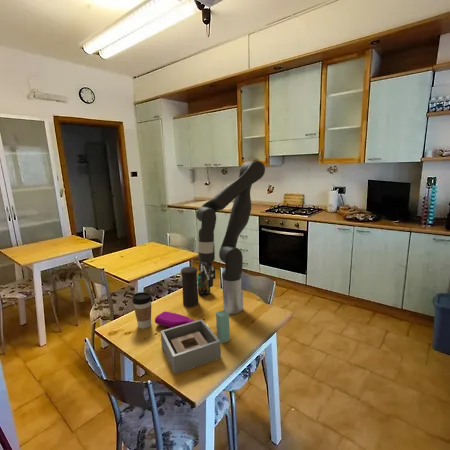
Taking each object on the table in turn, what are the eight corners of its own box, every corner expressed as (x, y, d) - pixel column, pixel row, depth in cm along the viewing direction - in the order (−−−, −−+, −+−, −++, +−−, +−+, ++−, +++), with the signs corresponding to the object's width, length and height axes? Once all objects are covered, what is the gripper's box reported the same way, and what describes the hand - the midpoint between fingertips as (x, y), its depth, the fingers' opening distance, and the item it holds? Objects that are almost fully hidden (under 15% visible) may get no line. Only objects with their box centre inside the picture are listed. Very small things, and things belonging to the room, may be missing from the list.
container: (201, 300, 152) (199, 265, 148) (195, 308, 144) (193, 271, 140) (186, 299, 154) (184, 264, 150) (180, 307, 146) (177, 270, 142)
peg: (225, 335, 120) (224, 309, 117) (229, 340, 116) (229, 314, 114) (217, 338, 118) (215, 312, 116) (221, 343, 114) (220, 316, 112)
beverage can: (203, 297, 156) (202, 277, 154) (195, 293, 161) (194, 273, 159) (212, 293, 161) (212, 273, 158) (205, 289, 166) (204, 270, 163)
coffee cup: (137, 320, 134) (134, 291, 131) (155, 319, 134) (152, 290, 131) (133, 330, 126) (129, 299, 123) (152, 329, 126) (149, 298, 123)
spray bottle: (164, 316, 137) (211, 327, 130) (152, 324, 126) (202, 337, 119) (165, 310, 137) (212, 321, 129) (152, 317, 126) (203, 330, 119)
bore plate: (198, 337, 117) (198, 330, 117) (210, 353, 107) (209, 346, 106) (170, 346, 112) (170, 339, 112) (180, 364, 102) (179, 356, 101)
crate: (202, 333, 121) (202, 319, 120) (220, 357, 106) (220, 341, 104) (161, 346, 114) (160, 330, 112) (174, 374, 98) (173, 356, 96)
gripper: (220, 253, 124) (220, 287, 127) (207, 245, 137) (208, 277, 140) (204, 255, 121) (205, 290, 124) (193, 247, 133) (194, 279, 136)
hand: (206, 283), depth 132 cm, fingers open, 8 cm apart
